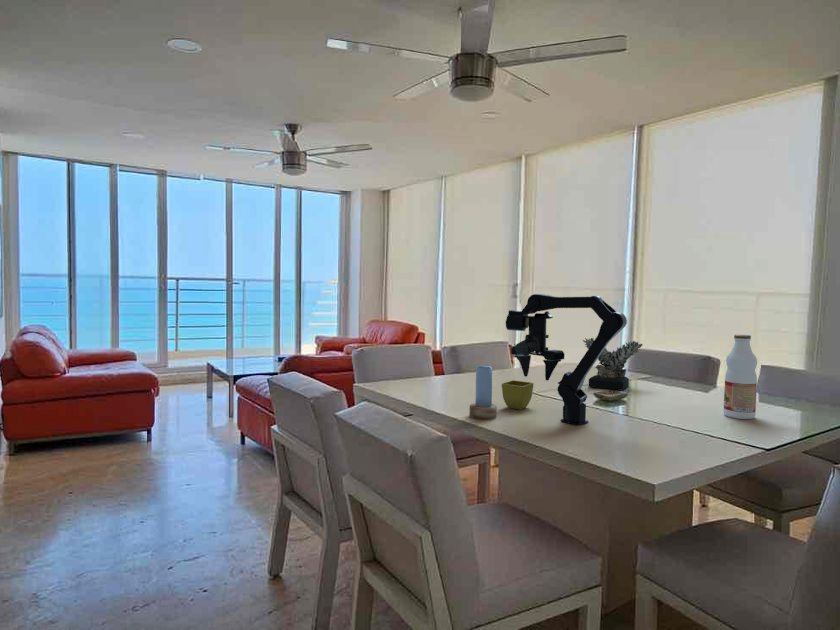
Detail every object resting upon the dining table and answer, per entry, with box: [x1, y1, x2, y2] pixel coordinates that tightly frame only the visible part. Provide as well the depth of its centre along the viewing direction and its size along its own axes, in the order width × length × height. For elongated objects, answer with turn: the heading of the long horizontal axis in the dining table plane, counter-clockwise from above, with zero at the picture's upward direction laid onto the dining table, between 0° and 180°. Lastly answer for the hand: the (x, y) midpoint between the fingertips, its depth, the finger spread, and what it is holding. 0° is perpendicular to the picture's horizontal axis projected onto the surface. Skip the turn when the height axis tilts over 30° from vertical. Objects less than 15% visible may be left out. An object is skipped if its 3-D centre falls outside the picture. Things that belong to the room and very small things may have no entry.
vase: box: [474, 365, 493, 408], centre depth 179 cm, size 5×5×13 cm
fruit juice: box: [723, 334, 758, 420], centre depth 183 cm, size 9×9×28 cm
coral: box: [582, 337, 643, 391], centre depth 237 cm, size 25×18×21 cm
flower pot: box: [501, 379, 534, 410], centre depth 193 cm, size 9×9×9 cm
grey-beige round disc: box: [469, 402, 498, 421], centre depth 180 cm, size 9×9×4 cm
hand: (536, 378), depth 179 cm, fingers open, 9 cm apart
